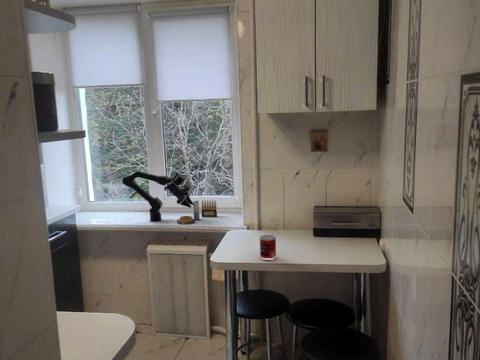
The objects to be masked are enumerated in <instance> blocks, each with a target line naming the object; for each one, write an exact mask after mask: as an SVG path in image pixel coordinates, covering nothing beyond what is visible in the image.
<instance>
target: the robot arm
mask: <svg viewBox="0 0 480 360" xmlns="http://www.w3.org/2000/svg"><path fill="white" fill-rule="evenodd" d="M137 178H141V179H144V180H148V181H150V182H151V181H152V182H155V183H156V184H158V185H161V186H164V191H165V192H166V191H167V190H168V191H169V192H170V193H171V194H172V196H173V197H176V198H177V199H176V204H178V205H180V206H183V207H186V208H190V209H191V208H192V206H193V200H192V199H191V197H190V191H191V190H192V189H191V187H190V185H188V184H185V185H184V187H182V188H181V187H178V186H181V185H182V183H184V181H186V178H185V177H184V176H183V175H182V174H179V173H178V172H177V173H176V174H175V175H174V176H173V177H169V176H167V175H156V174H152V173H149V172H145V171H140V170H136V171H135V172H134V173H133V172H132V174H128V175H126V176H124V177H122V179H121V182H122V184H123V185H124V186H126V187H128V188H130V189H132V190H134V191H135V193H137V194H138V195H139V196H141V197H142V198H143V199H144V200H145V201H146V202H147V203H148V204H149V206H150V209H148V211H149V220H148V222H156V223H157V222H160V221H161V220H162V213H161V211H160V210H161V209H162V207H163V202H162V199H160V198H159V197H158V196H156V197H153V196H152V194H150V193H148V191H146V190H145V189H144V188H142V187H141V186H140V185H139V184H138V183H137V181H136V179H137Z"/></svg>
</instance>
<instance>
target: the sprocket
mask: <svg viewBox="0 0 480 360" xmlns="http://www.w3.org/2000/svg"><path fill="white" fill-rule="evenodd" d="M176 223H177V224H178V225H183V226H184V225H193V224H195V223H196V221H195V219H194V217H193V216H192V215H182V216H180V217H179V219H177V220H176Z"/></svg>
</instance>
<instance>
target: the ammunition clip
mask: <svg viewBox="0 0 480 360" xmlns="http://www.w3.org/2000/svg"><path fill="white" fill-rule="evenodd" d="M217 211H218V210H217V200H216V199H214V200H213V199H211V200H208V199H207V200H202V199H201V218H216V217H218V212H217Z"/></svg>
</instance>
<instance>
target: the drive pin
mask: <svg viewBox="0 0 480 360" xmlns="http://www.w3.org/2000/svg"><path fill="white" fill-rule="evenodd" d="M192 202H193V205H192V208H193V211H192V212H193V214H192V215H193V219H195V222H196V221H200V219H201V218H200V201H199V200H192Z"/></svg>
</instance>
